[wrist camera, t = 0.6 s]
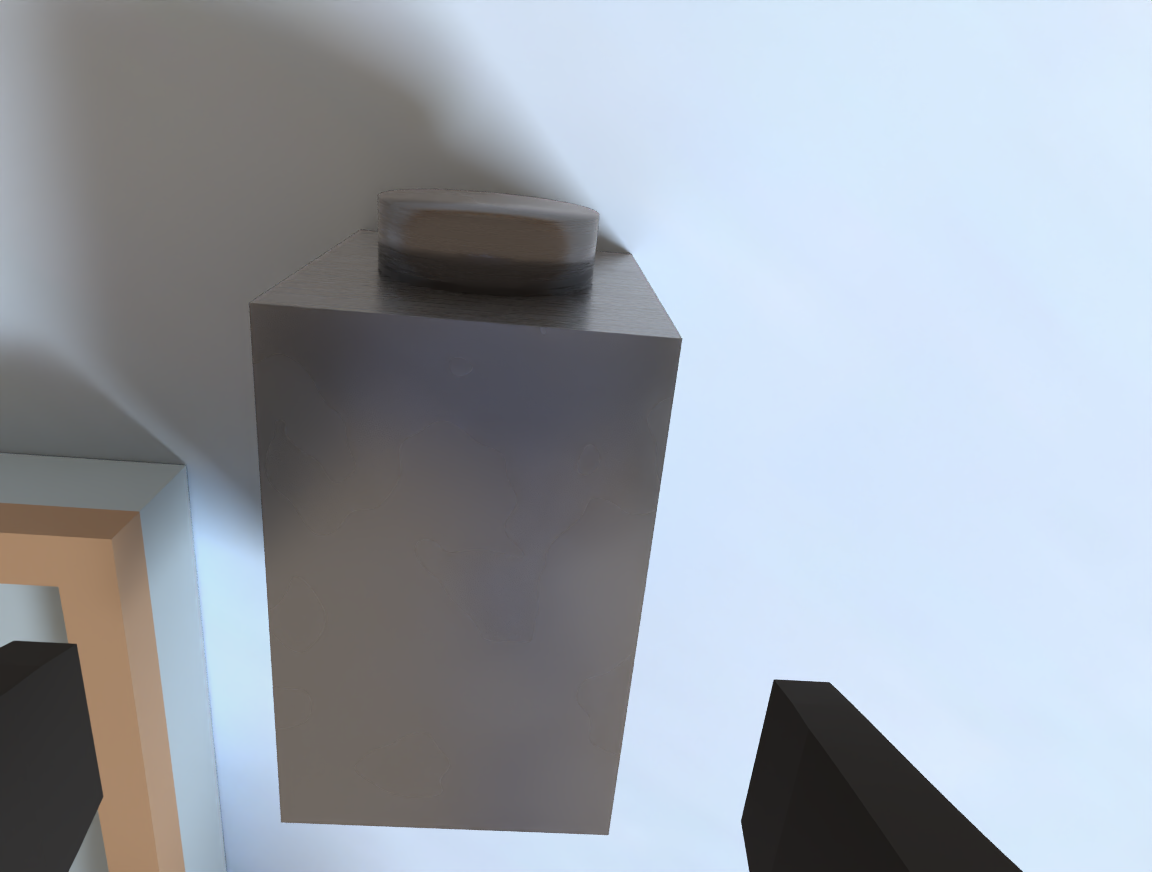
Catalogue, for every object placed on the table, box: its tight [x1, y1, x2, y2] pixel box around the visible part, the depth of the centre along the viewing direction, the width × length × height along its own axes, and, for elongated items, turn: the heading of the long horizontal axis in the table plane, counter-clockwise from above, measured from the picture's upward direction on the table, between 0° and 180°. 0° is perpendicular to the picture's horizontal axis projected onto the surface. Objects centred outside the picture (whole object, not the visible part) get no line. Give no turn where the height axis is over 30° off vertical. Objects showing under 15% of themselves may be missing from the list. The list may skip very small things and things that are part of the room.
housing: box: [249, 189, 682, 835], centre depth 13 cm, size 9×5×6 cm, turn 174°
